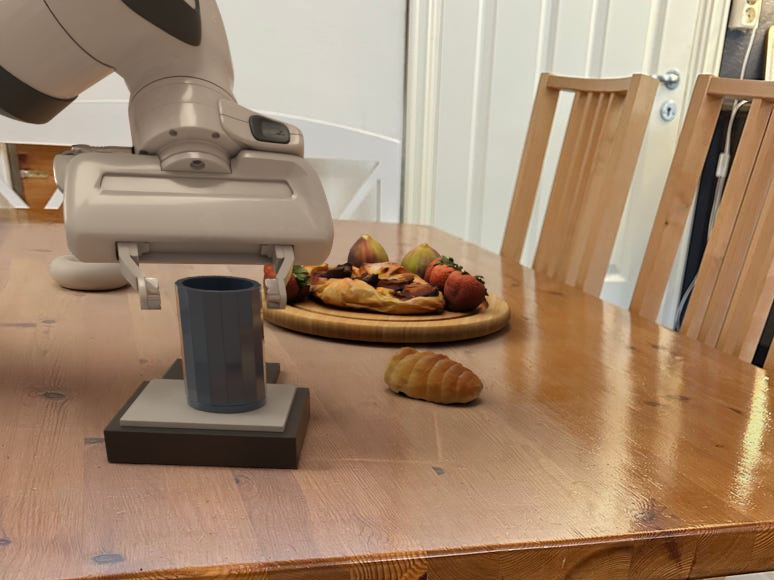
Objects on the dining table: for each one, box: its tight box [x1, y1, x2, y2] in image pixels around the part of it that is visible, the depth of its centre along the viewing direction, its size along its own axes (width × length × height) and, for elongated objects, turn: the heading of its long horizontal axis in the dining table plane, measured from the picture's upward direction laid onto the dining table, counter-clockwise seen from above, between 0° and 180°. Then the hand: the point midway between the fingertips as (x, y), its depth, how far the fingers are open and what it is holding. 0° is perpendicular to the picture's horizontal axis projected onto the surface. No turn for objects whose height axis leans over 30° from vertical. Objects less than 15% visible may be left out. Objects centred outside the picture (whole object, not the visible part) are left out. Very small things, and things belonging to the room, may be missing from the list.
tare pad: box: [161, 357, 281, 384], centre depth 88 cm, size 10×8×2 cm
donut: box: [49, 253, 129, 291], centre depth 121 cm, size 10×4×10 cm
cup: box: [174, 274, 267, 414], centre depth 72 cm, size 6×6×9 cm
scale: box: [102, 378, 311, 469], centre depth 75 cm, size 14×13×3 cm
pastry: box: [383, 346, 484, 405], centre depth 89 cm, size 9×7×4 cm
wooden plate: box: [261, 234, 512, 344], centre depth 115 cm, size 32×32×8 cm
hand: (215, 305), depth 72 cm, fingers open, 8 cm apart
